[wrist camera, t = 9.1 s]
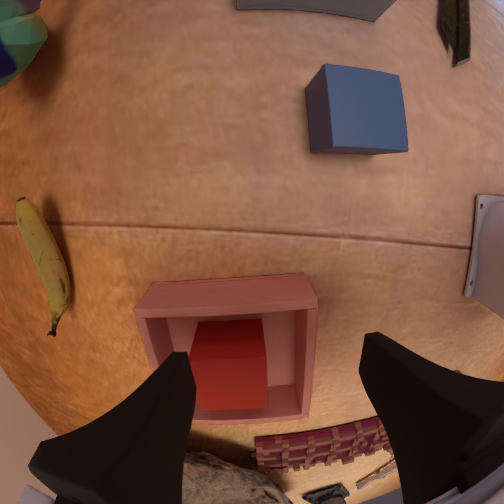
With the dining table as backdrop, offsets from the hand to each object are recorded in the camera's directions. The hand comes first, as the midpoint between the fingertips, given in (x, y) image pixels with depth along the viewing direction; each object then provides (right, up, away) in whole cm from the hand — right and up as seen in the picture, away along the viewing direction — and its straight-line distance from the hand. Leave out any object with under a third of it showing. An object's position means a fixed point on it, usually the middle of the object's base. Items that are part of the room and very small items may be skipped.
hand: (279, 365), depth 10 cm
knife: (+20, +31, 0) cm, 37 cm away
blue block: (+5, +13, +5) cm, 15 cm away
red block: (-2, -2, +9) cm, 9 cm away
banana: (-16, +4, +7) cm, 18 cm away
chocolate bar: (+8, -17, +14) cm, 23 cm away
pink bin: (-2, -2, +9) cm, 10 cm away
